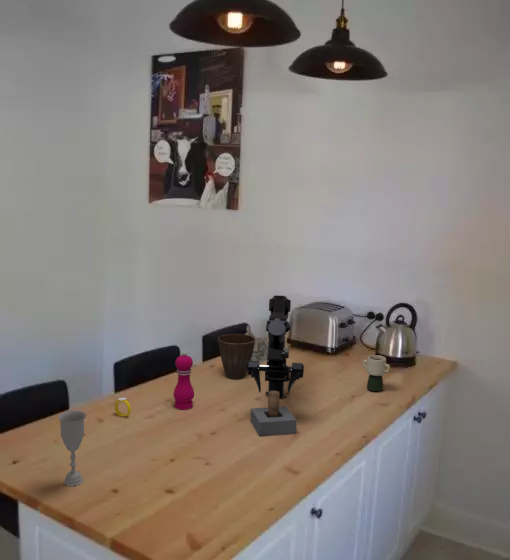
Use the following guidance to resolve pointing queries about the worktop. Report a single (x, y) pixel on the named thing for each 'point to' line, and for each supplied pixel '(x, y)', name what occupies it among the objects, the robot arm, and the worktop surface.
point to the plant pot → (236, 354)
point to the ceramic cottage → (259, 347)
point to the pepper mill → (183, 383)
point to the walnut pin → (273, 404)
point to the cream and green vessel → (376, 371)
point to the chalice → (72, 441)
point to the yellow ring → (125, 403)
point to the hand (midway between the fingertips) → (274, 392)
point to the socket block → (273, 422)
